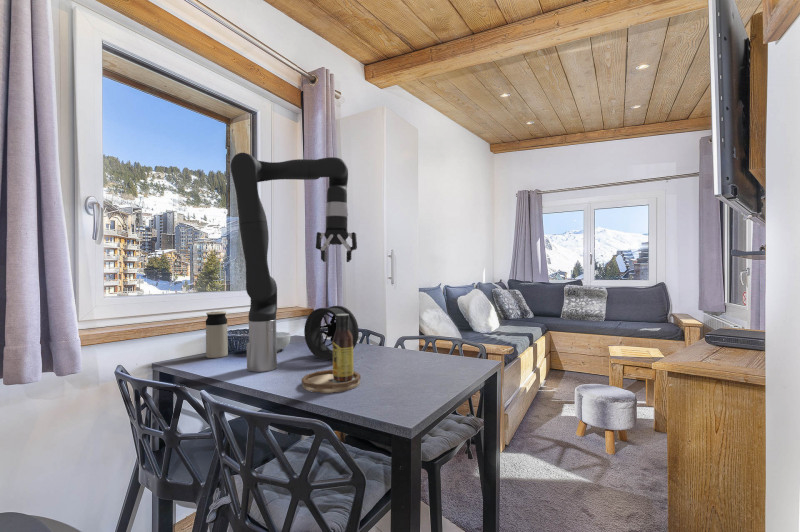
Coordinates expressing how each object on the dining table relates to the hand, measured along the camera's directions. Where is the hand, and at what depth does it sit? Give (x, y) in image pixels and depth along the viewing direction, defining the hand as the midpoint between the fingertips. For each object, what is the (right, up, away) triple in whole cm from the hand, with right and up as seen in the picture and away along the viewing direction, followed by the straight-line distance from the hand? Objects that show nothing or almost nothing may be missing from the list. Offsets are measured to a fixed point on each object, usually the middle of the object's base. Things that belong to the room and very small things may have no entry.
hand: (336, 261), depth 142 cm
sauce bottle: (+5, -36, -20) cm, 42 cm away
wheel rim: (-4, -38, +16) cm, 41 cm away
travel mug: (-52, -39, +22) cm, 68 cm away
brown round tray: (+2, -37, -20) cm, 42 cm away
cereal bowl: (-33, -38, +32) cm, 60 cm away
